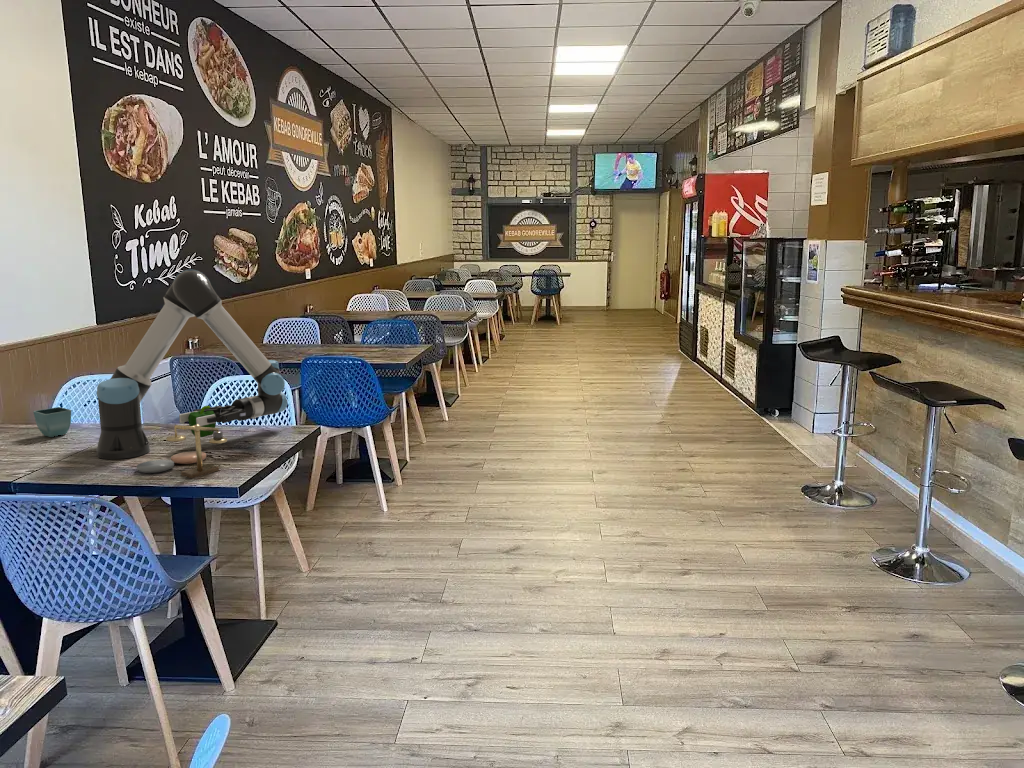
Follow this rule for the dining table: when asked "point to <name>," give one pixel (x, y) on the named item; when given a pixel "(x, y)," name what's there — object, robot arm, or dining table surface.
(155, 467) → the slate dish
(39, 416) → the flower pot
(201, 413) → the bell pepper
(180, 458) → the terracotta dish
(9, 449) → the dining table surface
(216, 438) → the brass balance
